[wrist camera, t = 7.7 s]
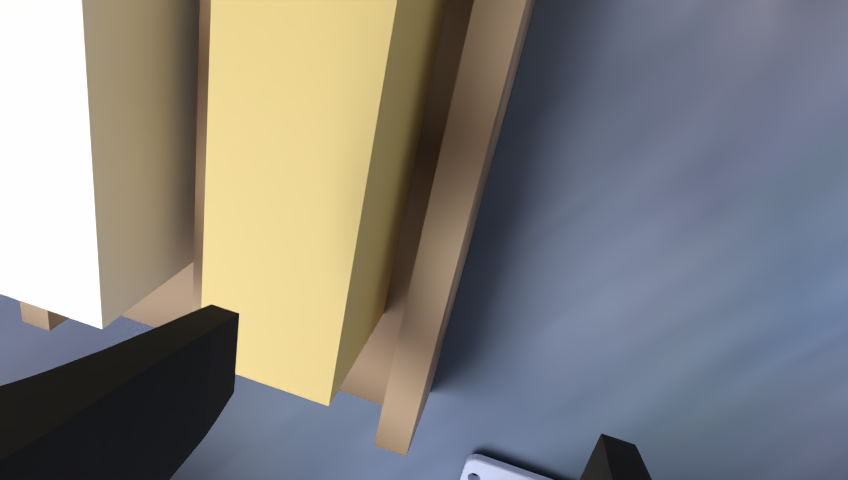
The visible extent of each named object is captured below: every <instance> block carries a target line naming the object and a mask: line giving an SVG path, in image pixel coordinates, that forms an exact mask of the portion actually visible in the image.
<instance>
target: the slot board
mask: <svg viewBox="0 0 848 480" xmlns="http://www.w3.org/2000/svg"><path fill="white" fill-rule="evenodd" d="M535 1H536V0H448V1H447V6H446V11H445V16H444V21H443V26H442V31H441V36H440V40H439V45H438V50H437V55H436V60H435V65H434V70H433V74H432V79H431V84H430V89H429V94H428V99H427V104H426V109H425V113H424V118H423V123H422V128H421V133H420V138H419V143H418V148H417V152H416V157H415V162H414V167H413V172H412V177H411V182H410V186H409V191H408V196H407V201H406V206H405V211H404V216H403V221H402V225H401V230H400V235H399V240H398V245H397V250H396V255H395V260H394V264H393V269H392V274H391V279H390V284H389V289H388V294H387V298H386V303H385V308H384V313H383V315H382V317H381V319H380V320H379V322H378V324H377V325H376V327H375V329H374V330H373V332H372V334H371V336H370V337H369V339H368V341H367V342H366V344H365V346H364V347H363V349H362V351H361V352H360V354H359V356H358V358H357V359H356V361H355V363H354V364H353V366H352V368H351V369H350V371H349V373H348V375H347V376H346V378H345V380H344V381H343V383H342V385H341V386H340V388H339V390H340V391H343V392H346V393H349V394H352V395H355V396H358V397H360V398H363V399H366V400H369V401H372V402H375V403H378V404H381V405H383V408H382V412H381V416H380V421H379V425H378V430H377V434H376V439H375V443H374V445H375V446H378V447H381V448H384V449H387V450H389V451H392V452H395V453H398V454H401V455H404V456H407V453H408V450H409V448H410V445H411V442H412V440H413V437H414V434H415V431H416V429H417V426H418V423H419V421H420V418H421V415H422V412H423V410H424V407H425V404H426V402H427V399H428V396H429V393H430V390H431V386H432V383H433V379H434V375H435V371H436V368H437V364H438V360H439V357H440V353H441V349H442V346H443V342H444V338H445V334H446V331H447V327H448V323H449V320H450V316H451V312H452V309H453V305H454V301H455V297H456V294H457V290H458V286H459V283H460V279H461V275H462V271H463V268H464V264H465V260H466V257H467V253H468V249H469V246H470V242H471V238H472V234H473V231H474V227H475V223H476V220H477V216H478V212H479V209H480V205H481V201H482V197H483V194H484V190H485V186H486V183H487V179H488V175H489V172H490V168H491V164H492V160H493V157H494V153H495V149H496V146H497V142H498V138H499V134H500V131H501V127H502V123H503V120H504V116H505V112H506V109H507V105H508V101H509V97H510V94H511V90H512V86H513V83H514V79H515V75H516V72H517V68H518V64H519V60H520V57H521V53H522V49H523V46H524V42H525V38H526V34H527V31H528V27H529V23H530V20H531V16H532V12H533V9H534V5H535ZM210 19H211V0H200V14H199V55H198V97H197V139H196V181H195V222H194V262H192V263H191V264H190V265H188V266H187V267H186V268H184V269H183V270H182V271H180V272H179V273H177V274H176V275H175V276H173V277H172V278H171V279H169V280H168V281H167V282H165V283H164V284H163V285H161V286H160V287H159V288H157V289H156V290H155V291H153V292H152V293H151V294H149V295H148V296H146V297H145V298H144V299H142V300H141V301H140V302H138V303H137V304H136V305H134V306H133V307H132V308H130V309H129V310H128V311H126V312H125V313H124V314H122V315H121V316H124V317H127V318H130V319H132V320H135V321H138V322H141V323H144V324H147V325H150V326H153V327H156V328H157V327H159V326H161V325H163V324H166V323H168V322H170V321H173V320H175V319H177V318H179V317H182V316H184V315H186V314H189V313H191V312H193V311H196V310H198V309H201V300H202V269H203V238H204V206H205V175H206V144H207V113H208V81H209V50H210ZM20 306H21V313H22V320H23V322H26V323H29V324H32V325H35V326H37V327H40V328H43V329H46V330H49V331H50V330H52V329H53V328H55V327H56V326H58V325H59V324H61V323H62V322H64V321H65V320H67V319H68V318H69V317H66V316H63V315H60V314H57V313H54V312H51V311H48V310H46V309H43V308H40V307H37V306H34V305H31V304H28V303H25V302H22V301H20Z"/></svg>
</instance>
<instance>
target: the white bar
mask: <svg viewBox="0 0 848 480" xmlns="http://www.w3.org/2000/svg"><path fill="white" fill-rule="evenodd" d="M199 14H200V0H0V294H2V295H5V296H8V297H11V298H14V299H17V300H20V301H22V302H25V303H28V304H31V305H34V306H37V307H40V308H43V309H46V310H48V311H51V312H54V313H57V314H60V315H63V316H66V317H69V318H71V319H74V320H77V321H80V322H83V323H86V324H89V325H92V326H94V327H97V328H100V329H103V328H105V327H106V326H107V325H109V324H110V323H111V322H113V321H114V320H115V319H117V318H118V317H120V316H121V315H122V314H124V313H125V312H126V311H128V310H129V309H130V308H132V307H133V306H134V305H136V304H137V303H138V302H140V301H141V300H142V299H144V298H145V297H146V296H148V295H149V294H151V293H152V292H153V291H155V290H156V289H157V288H159V287H160V286H161V285H163V284H164V283H165V282H167V281H168V280H169V279H171V278H172V277H173V276H175V275H176V274H177V273H179V272H180V271H182V270H183V269H184V268H186V267H187V266H188V265H190V264H191V263H192V262H194V222H195V181H196V139H197V97H198V55H199Z"/></svg>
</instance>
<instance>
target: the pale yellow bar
mask: <svg viewBox="0 0 848 480" xmlns="http://www.w3.org/2000/svg"><path fill="white" fill-rule="evenodd" d="M447 1H448V0H211V19H210V50H209V81H208V113H207V144H206V175H205V206H204V238H203V269H202V300H201V308H203V307H206V306H208V305H211V304H212V305H215V306H218V307H221V308H224V309H227V310H230V311H233V312H236V313H239V326H238V340H237V355H236V369H235V374H237V375H240V376H243V377H246V378H249V379H252V380H254V381H257V382H260V383H263V384H266V385H269V386H272V387H275V388H278V389H280V390H283V391H286V392H289V393H292V394H295V395H298V396H301V397H304V398H306V399H309V400H312V401H315V402H318V403H321V404H324V405H327V406H329V405H330V403H331V402H332V400H333V398H334V397H335V395H336V393H337V392H338V390H339V388H340V386H341V385H342V383H343V381H344V380H345V378H346V376H347V375H348V373H349V371H350V369H351V368H352V366H353V364H354V363H355V361H356V359H357V358H358V356H359V354H360V352H361V351H362V349H363V347H364V346H365V344H366V342H367V341H368V339H369V337H370V336H371V334H372V332H373V330H374V329H375V327H376V325H377V324H378V322H379V320H380V319H381V317H382V315H383V313H384V308H385V303H386V298H387V294H388V289H389V284H390V279H391V274H392V269H393V264H394V260H395V255H396V250H397V245H398V240H399V235H400V230H401V225H402V221H403V216H404V211H405V206H406V201H407V196H408V191H409V186H410V182H411V177H412V172H413V167H414V162H415V157H416V152H417V148H418V143H419V138H420V133H421V128H422V123H423V118H424V113H425V109H426V104H427V99H428V94H429V89H430V84H431V79H432V74H433V70H434V65H435V60H436V55H437V50H438V45H439V40H440V36H441V31H442V26H443V21H444V16H445V11H446V6H447Z"/></svg>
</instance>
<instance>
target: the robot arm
mask: <svg viewBox="0 0 848 480" xmlns="http://www.w3.org/2000/svg"><path fill="white" fill-rule="evenodd" d="M238 326H239V313H236V312H233V311H230V310H227V309H224V308H221V307H218V306H215V305H212V304H211V305H208V306H206V307H203V308H201V309H198V310H196V311H193V312H191V313H189V314H186V315H184V316H182V317H179V318H177V319H175V320H173V321H170V322H168V323H166V324H163V325H161V326H159V327H157V328H154V329H152V330H150V331H147V332H145V333H142V334H140V335H138V336H135V337H133V338H131V339H128V340H126V341H123V342H121V343H119V344H116V345H114V346H112V347H109V348H107V349H104V350H102V351H99V352H96V353H94V354H91V355H88V356H86V357H83V358H80V359H78V360H75V361H72V362H70V363H67V364H64V365H62V366H59V367H56V368H54V369H51V370H49V371H46V372H43V373H40V374H37V375H34V376H31V377H28V378H25V379H22V380H19V381H16V382H12V383H9V384H6V385H2V386H0V480H169V479H170V478H171V477H172V476H173V474H174V473H175V472H176V471H177V470H178V468H179V467H180V466H181V465H182V464H183V462H184V461H185V460H186V459H187V458H188V456H189V455H190V454H191V453H192V452H193V450H194V449H195V448H196V447H197V446H198V444H199V443H200V442H201V441H202V440H203V438H204V437H205V436H206V434H207V433H208V431H209V430H210V429H211V427H212V426H213V424H214V423H215V421H216V420H217V418H218V417H219V415H220V413H221V412H222V410H223V409H224V407H225V405H226V404H227V402H228V401H229V399H230V398H231V396H232V394H233V393H234V384H235V369H236V355H237V340H238ZM471 473H475V474H477V475H478V476H476V475H473V474H471ZM460 480H553V479H550V478H547V477H544V476H541V475H538V474H535V473H533V472H530V471H527V470H524V469H521V468H518V467H515V466H512V465H509V464H506V463H504V462H501V461H498V460H495V459H492V458H489V457H486V456H483V455H480V454H472V455H470V456H468V458H467V460H466V463H465V466H464V469H463V472H462V475H461V478H460ZM580 480H652V479H651V477H650V475H649V473H648V471H647V468H646V466H645V464H644V462H643V460H642V458H641V455H640V453H639V451H638V449H637V447H636V446H635V445H634V444H631V443H628V442H625V441H622V440H619V439H616V438H613V437H610V436H607V435H604V434H601V436H600V438H599V440H598V442H597V444H596V446H595V448H594V451H593V453H592V455H591V457H590V459H589V461H588V463H587V466H586V468H585V470H584V472H583V474H582V476H581V478H580Z"/></svg>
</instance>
